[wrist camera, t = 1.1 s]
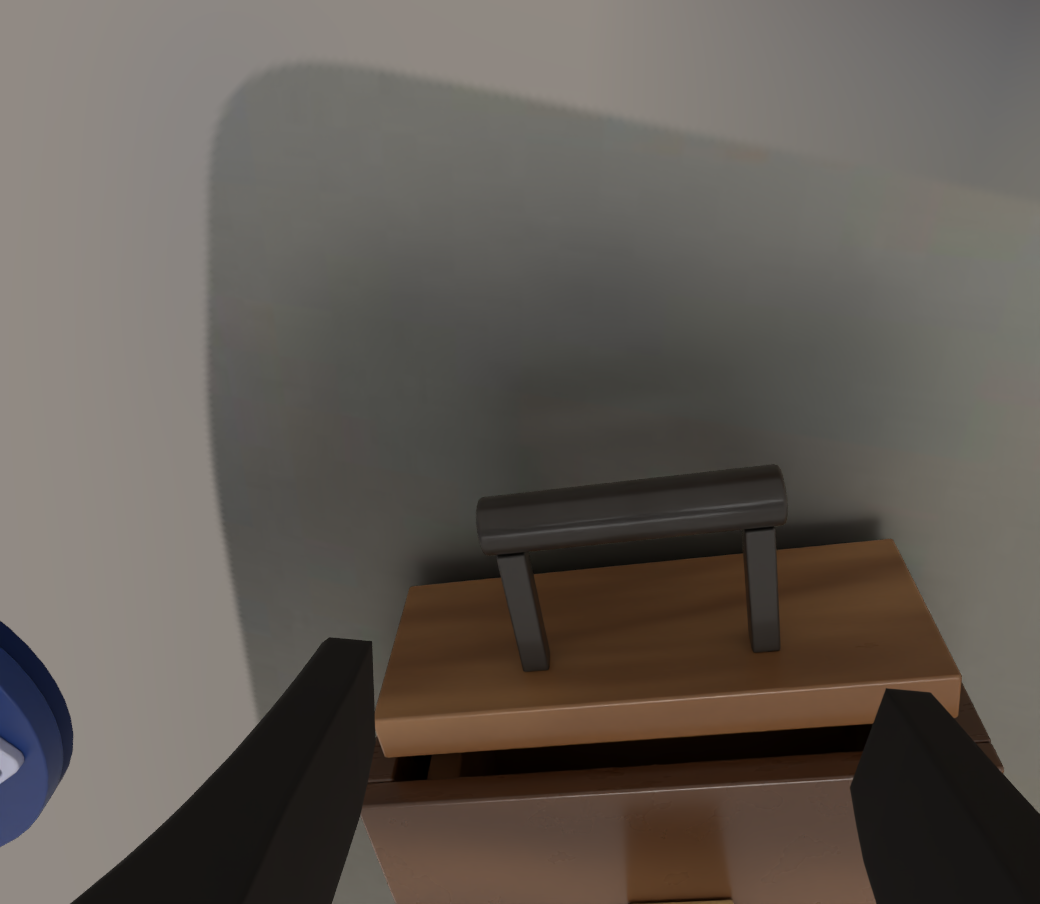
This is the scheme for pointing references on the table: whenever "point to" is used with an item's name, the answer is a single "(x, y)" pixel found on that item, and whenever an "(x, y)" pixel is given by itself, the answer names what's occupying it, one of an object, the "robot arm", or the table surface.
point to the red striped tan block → (700, 902)
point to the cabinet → (627, 831)
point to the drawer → (655, 638)
